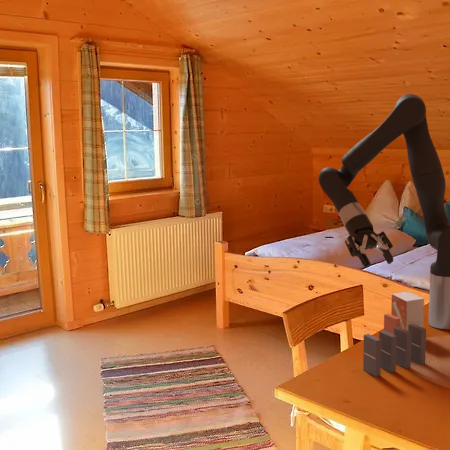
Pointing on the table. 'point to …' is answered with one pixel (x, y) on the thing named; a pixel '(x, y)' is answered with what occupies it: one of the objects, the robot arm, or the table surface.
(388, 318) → the domino
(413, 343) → the domino
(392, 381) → the table surface
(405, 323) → the small box
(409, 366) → the domino
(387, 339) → the domino
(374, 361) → the domino
